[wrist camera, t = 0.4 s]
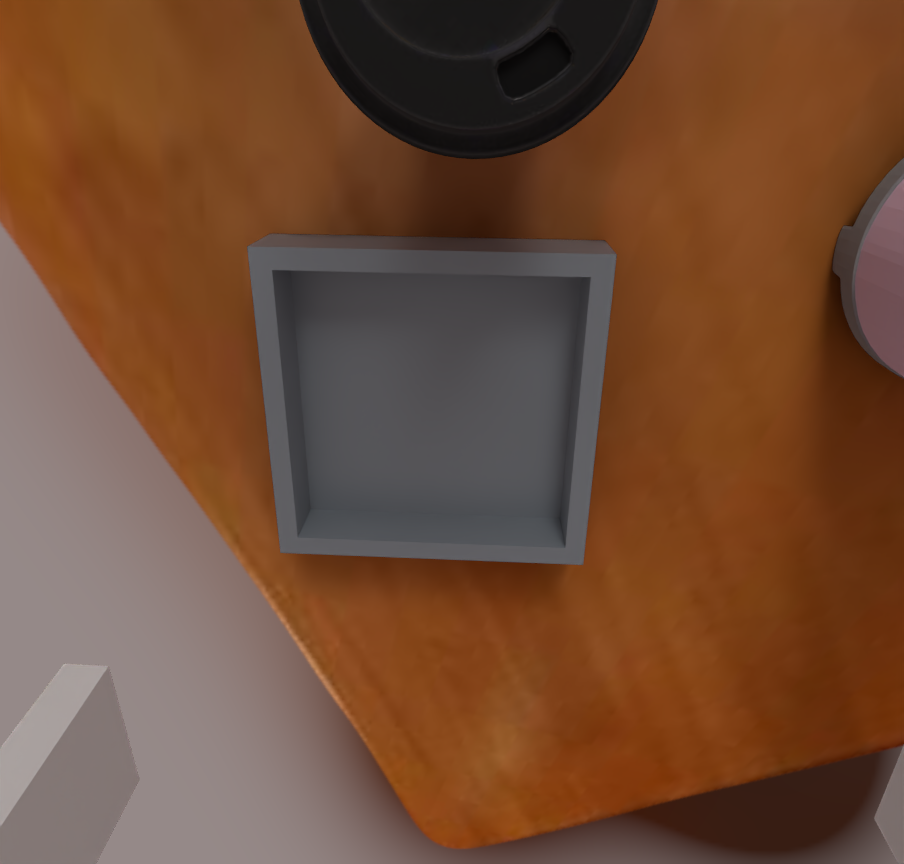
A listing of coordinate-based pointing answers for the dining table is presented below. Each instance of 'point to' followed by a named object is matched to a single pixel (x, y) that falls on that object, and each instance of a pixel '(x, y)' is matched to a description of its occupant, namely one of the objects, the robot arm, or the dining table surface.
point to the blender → (876, 272)
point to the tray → (432, 392)
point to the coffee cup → (477, 65)
